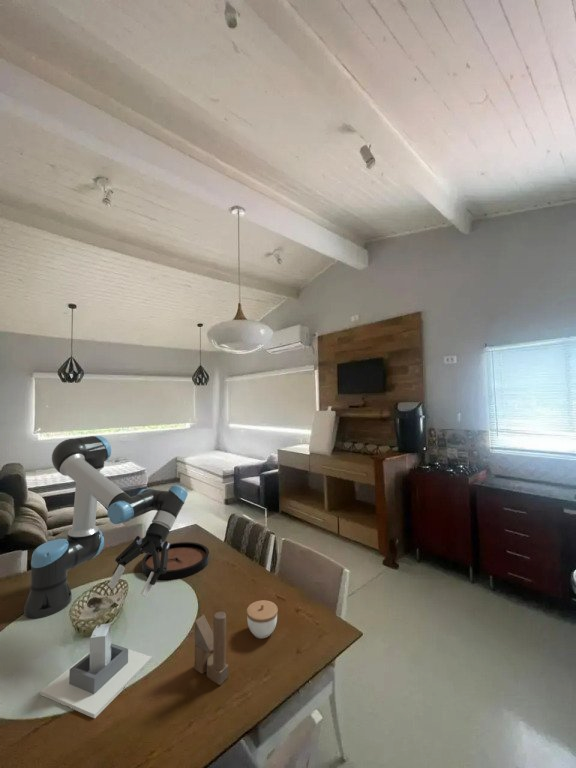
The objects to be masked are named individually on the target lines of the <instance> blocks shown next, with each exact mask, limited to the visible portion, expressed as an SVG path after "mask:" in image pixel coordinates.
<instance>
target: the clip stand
mask: <svg viewBox="0 0 576 768" xmlns="http://www.w3.org/2000/svg"><path fill="white" fill-rule="evenodd" d="M152 660H153V656H151V655H148V654H144V653H141V652H139V651H135V650H133V649H132V650H131V649H130V648H127V647H124V646H122V645H121V646H120V645H117V644H114V643H112V642H111V662H109V663H108V664H107V665H106V666H105V667H104V668H103V669H101V670H100V671H99V672H98V673H97V674H96V675H94V674H91V673H89V672H90V651H89V652H88V653H87V654H85V655H84V656H83V657H82V658H80V659H79V660H78V661H76V663H74V664H73V665H72V666H70V667H68V669H67V670H65V671H64V672H63V673H62V674H60V675H59V676H58V677H56V678H55V679H53V681H51V682H50V683H48V684H47V685H46V686H45V687H44V688H43V689H41V690H40V696H43V697H45V698H47V699H48V700H49V699H50V700H51V701H54V702H56V703H58V704H60V703H61V705H63V706H65V705H67V706H69V707H72V708H73V709H72V708H71V709H72V710H74V709H75V710H74V711H76V712H79V713H80V714H83V715H86V716H88V717H90V718H93V719H94V720H95V719H96V718H97V717H98V716H99V715H100V714H101V713H102V712H103V711H104V710H105V709H106V708H107V707H108V706H109V705H110V704H111V702H112V701H113V700H115V699H116V698H117V696H119V694H121V692H123V690H124V689H125V688H126V687H127V686H128V685H129V684H130V683H132V681H133V680H134V679H135V678H136V677H137V676H138V675H140V673H142V671H143V670H144V669H145V668H146V667H147V666H148V665H149V664H150V663H151V662H152ZM126 685H127V686H126ZM125 686H126V687H125ZM124 687H125V688H124ZM123 688H124V689H123ZM67 706H66V707H67ZM69 707H68V708H69Z"/></svg>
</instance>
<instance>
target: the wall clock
mask: <svg viewBox="0 0 576 768" xmlns="http://www.w3.org/2000/svg"><path fill="white" fill-rule="evenodd" d="M169 544H170V548H169V550H168V561H167V572H166V573H165V574H160V575H159V577H158V579H157V581H164V582H165V581H167V582H168V581H177V580H181V579H184V578H185V579H186V578H188V577H192V576H194V575H196V574H198V573H199V572H201V571H203V570H204V569H205V568H206V567H207V566H208V565H209V562H210V550H209V548H208V547H207V546H206V545H204V544H201V543H198V542H190V541H181V542H172V543H169ZM161 551H162V547H161V548H160V549H159V559H160V562H161ZM153 570H154V565H153V557H152V555H151V554H149V553H148V554H146V553H145V555H144V556H143V558H142V560H141V572H142V574H143V575H144V576H145V577H146V578H147V579H148V578H149V576H150V574H151V572H154V571H153Z"/></svg>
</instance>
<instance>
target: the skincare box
mask: <svg viewBox="0 0 576 768" xmlns="http://www.w3.org/2000/svg"><path fill="white" fill-rule="evenodd" d="M111 643H112V623H111V622H109V623H102V624H96V626H95V628H94V630H93V631H92V634H91V636H90V637H89V652H90V672H89V673H91V674H94V675H96V674H97V673H98V672H99V671H100V670H101V669H103V668H104V667H105V666H106V665H107V664H108V663H109V662H111Z"/></svg>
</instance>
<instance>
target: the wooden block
mask: <svg viewBox="0 0 576 768" xmlns="http://www.w3.org/2000/svg"><path fill="white" fill-rule="evenodd" d="M226 641H227V614H226V612H225V611H217V612H216V613H215V614H214V615H213V630H212V629H211V626H210V624H209V622H208V620H207V618H206V616H205V614H202V615H201V616H199V617H198V618H197V619H195V620H194V670H195V671H197V672H199V673H200V674H201V675H203V674H205V672H206V677H207V679H209V680H211V681H212V682H214V683H215V684H217V685H219V686H222V684H223V683H225V681H226V680H227V679H228V678H229V664H228V663H227V661H226V660H227V656H226V653H227V651H226V650H227V642H226Z"/></svg>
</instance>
